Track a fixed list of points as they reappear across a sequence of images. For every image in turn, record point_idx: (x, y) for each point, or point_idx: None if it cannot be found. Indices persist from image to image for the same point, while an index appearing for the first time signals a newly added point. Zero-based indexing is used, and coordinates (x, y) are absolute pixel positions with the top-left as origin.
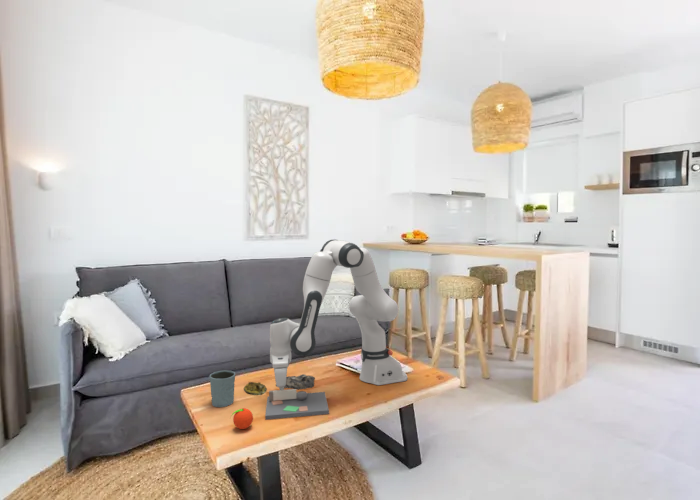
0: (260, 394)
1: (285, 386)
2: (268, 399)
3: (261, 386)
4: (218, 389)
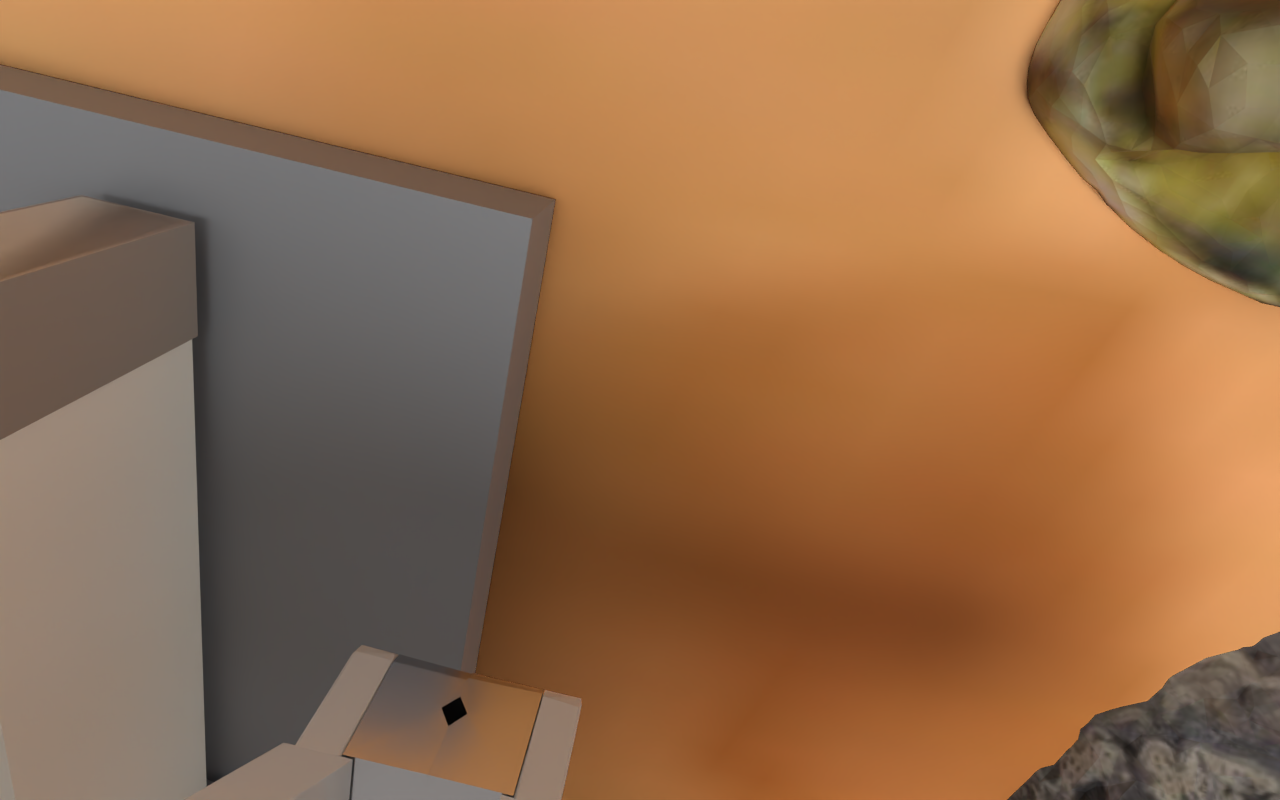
0: (1045, 49)
1: (1121, 766)
2: (292, 201)
3: (1272, 128)
4: None
